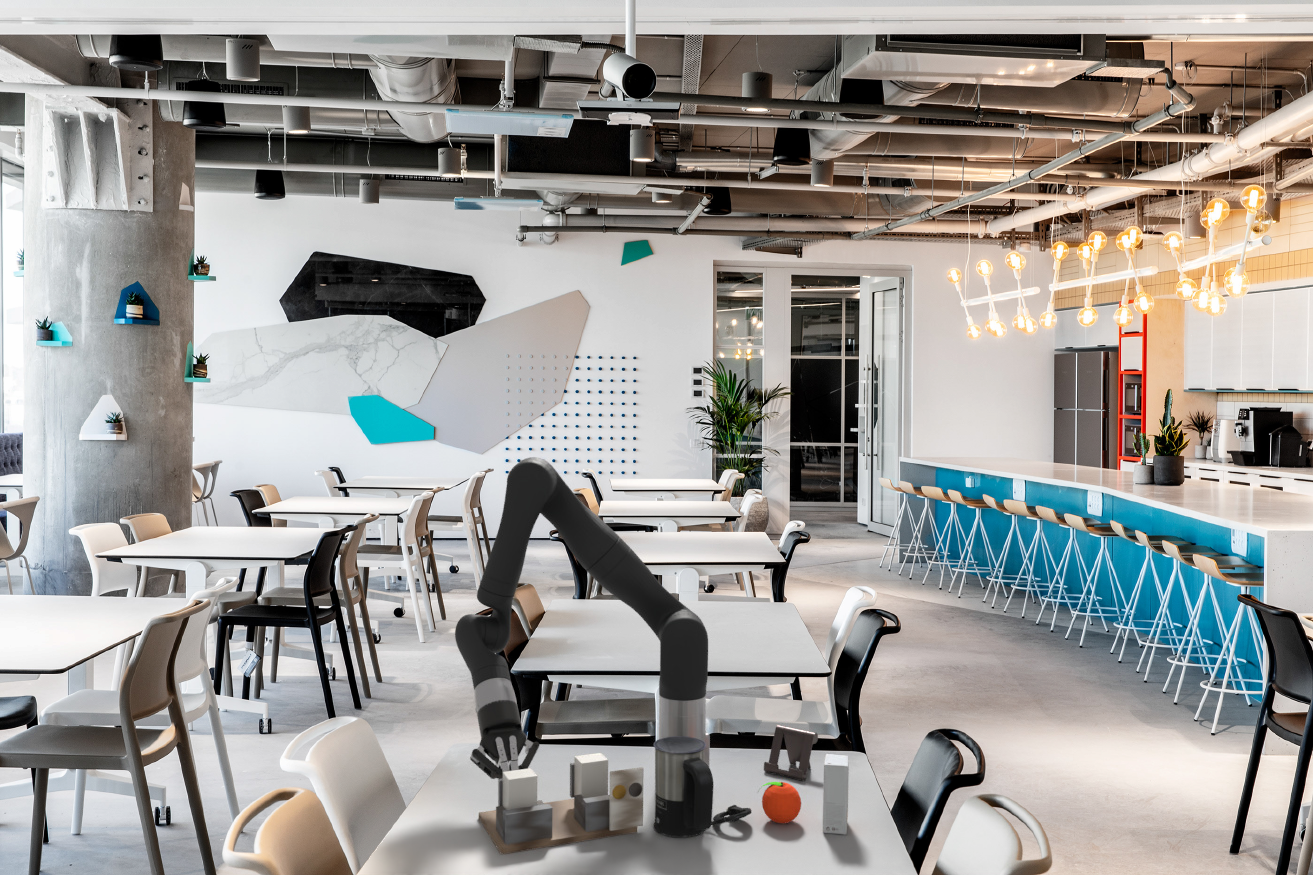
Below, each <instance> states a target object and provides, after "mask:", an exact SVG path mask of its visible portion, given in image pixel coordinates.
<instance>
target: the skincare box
mask: <svg viewBox="0 0 1313 875" xmlns="http://www.w3.org/2000/svg"><path fill="white" fill-rule="evenodd" d="M823 763H824V765H823V794H822V795H823V797H822V798H823V804H822V805H823V806H822V833H826V834H836V835H845V836H846V835H847V834H848V816H849V775H850V774H849V772H850V771H849V770H850V769H849V763H850V762H849V755H844V754H843V755H842V754H841V755H840V754H832V753H831V754H830V753H826V754H825V755H824V762H823Z"/></svg>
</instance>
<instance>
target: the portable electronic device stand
mask: <svg viewBox="0 0 1313 875" xmlns="http://www.w3.org/2000/svg"><path fill="white" fill-rule="evenodd" d="M774 729H775V730H774V735H773V740H772V745H771V749H770V754H769V758H768V759H769V760H768V761H764V762H763V772H765V773H769V774H774V775H776V776H782V777H786V778H791V779H794V780H798V781H803V782H805V781H806V779H807V776H808V770H811V768H812V766H811V762H810V761H811V755H812V748H813V745H814V744H817V742H818V740H819V734H818V733H817V732H814V731H808V730H804V729H799V728H796V727H795V728H794V727H790V726H784V725H782V724H781V725H779V724H777V725H776V727H775V728H774ZM783 740H784V743H785V747H786V751H787V752H786V754H787V757H788V762H789V764H790V765H791V766H797V762H798V763H799V764H798V768H794V767H788V770H785V769H781V768H779V759H780V754H781V748H782V743H783Z"/></svg>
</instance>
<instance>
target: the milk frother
mask: <svg viewBox="0 0 1313 875" xmlns="http://www.w3.org/2000/svg"><path fill="white" fill-rule="evenodd" d="M653 747H654V780H655V781H654V789H655V791H654V792H655V794H654V795H655V799H654V800H655V804H654V805H655V806H654V807H655V808H654V809H655V810H654V822H653V825H652V826H653V830H655V831H656V832H657V833H658V834H660V835H663V836H666V837H667V836H668V837H671V838H672V837H673V838H686V837H687V838H689V837H693V836H694V837H695V836H697V835H700V834H701V833H703V832H704V831H705V830H707V829H711V827H712V826H715V825H721V824H724V823H728V822H736V821H738V820H740V819H744V818H745V817H747V816H749V815H750V814H752V809H751V807H740V806H737V805H736V804H733V805H730V806H728V807H727V809H726V811H722V812H720V813H717V814H715V815H714V816H713V802H714V776H713V774H712V770H711V768H710V765H709V766H708V765H707V763H706V762H704V748H705V747H706V743H705V742H704V741H702V740H700V739H696V738H692V737H683V736H676V737H667V738H662V739H659V738H658V739H657V740H655V741H654V742H653Z"/></svg>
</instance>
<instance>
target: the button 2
mask: <svg viewBox="0 0 1313 875" xmlns="http://www.w3.org/2000/svg"><path fill="white" fill-rule="evenodd" d="M573 760H574V761H573V762H570V763H569V797H570V799H574V795H580V794H581V795H582V796H583V797H584V798H591V797H598V796H604V795H609V759H608V758H607V757H606V756H605V755H604V754H602V752H599V753H597V752H596V753H589V754H583V755H575V756H574V759H573Z"/></svg>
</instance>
